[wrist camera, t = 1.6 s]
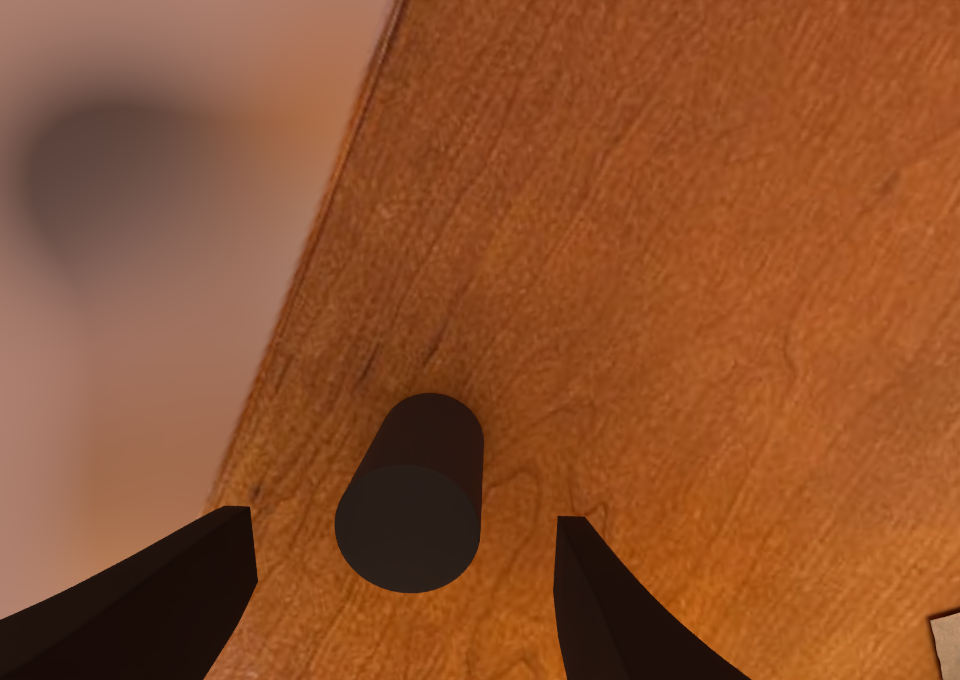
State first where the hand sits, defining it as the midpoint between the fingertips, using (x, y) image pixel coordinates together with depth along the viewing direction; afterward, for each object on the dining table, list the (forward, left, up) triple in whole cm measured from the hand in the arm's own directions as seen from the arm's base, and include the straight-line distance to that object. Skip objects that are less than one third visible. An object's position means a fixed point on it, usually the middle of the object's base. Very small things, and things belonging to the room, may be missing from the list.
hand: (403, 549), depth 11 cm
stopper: (0, 0, -6) cm, 6 cm away
